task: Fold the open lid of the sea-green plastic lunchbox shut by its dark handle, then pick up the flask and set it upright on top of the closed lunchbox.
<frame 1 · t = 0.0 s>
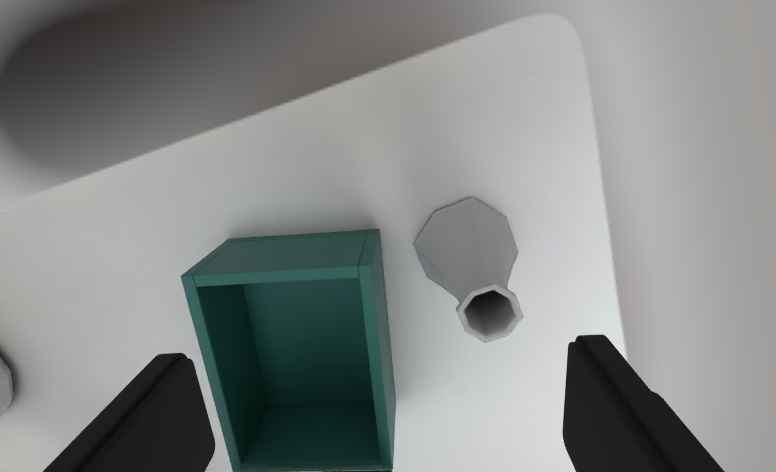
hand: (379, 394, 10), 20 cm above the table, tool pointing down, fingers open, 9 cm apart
flask: (464, 245, 30), on the table
lunchbox: (317, 325, 33), on the table
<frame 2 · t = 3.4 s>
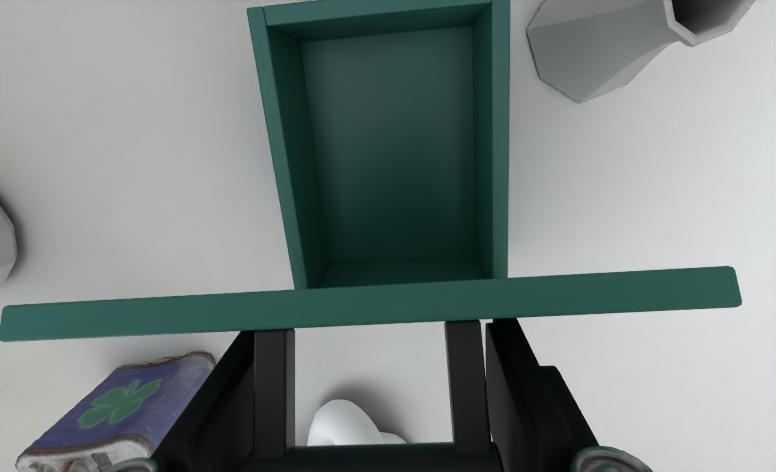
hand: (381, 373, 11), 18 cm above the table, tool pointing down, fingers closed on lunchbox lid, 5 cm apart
flask: (589, 35, 24), on the table
white decorative knot: (356, 433, 34), on the table
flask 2: (166, 370, 33), on the table
lunchbox: (394, 154, 27), on the table
lunchbox lid: (391, 372, 14), point 15 cm above the table, hinge at 59.8°, touching gripper
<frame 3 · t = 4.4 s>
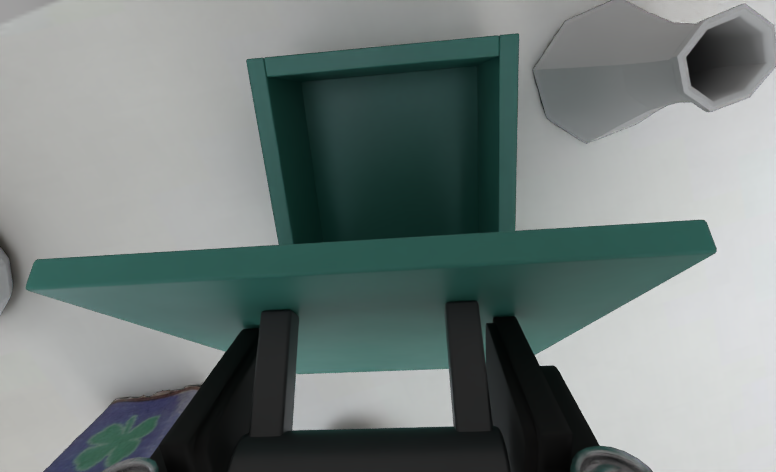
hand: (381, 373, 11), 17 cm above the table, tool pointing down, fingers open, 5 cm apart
flask: (597, 75, 23), on the table
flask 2: (164, 403, 33), on the table
lunchbox: (397, 192, 26), on the table
lunchbox lid: (392, 399, 14), point 15 cm above the table, hinge at 47.5°, touching gripper
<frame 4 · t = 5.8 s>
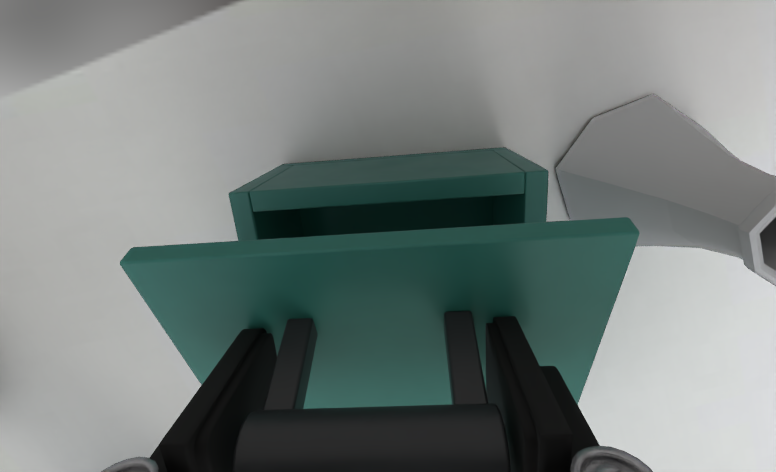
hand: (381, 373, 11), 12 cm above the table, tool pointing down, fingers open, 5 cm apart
flask: (627, 172, 21), on the table
lunchbox: (402, 291, 24), on the table
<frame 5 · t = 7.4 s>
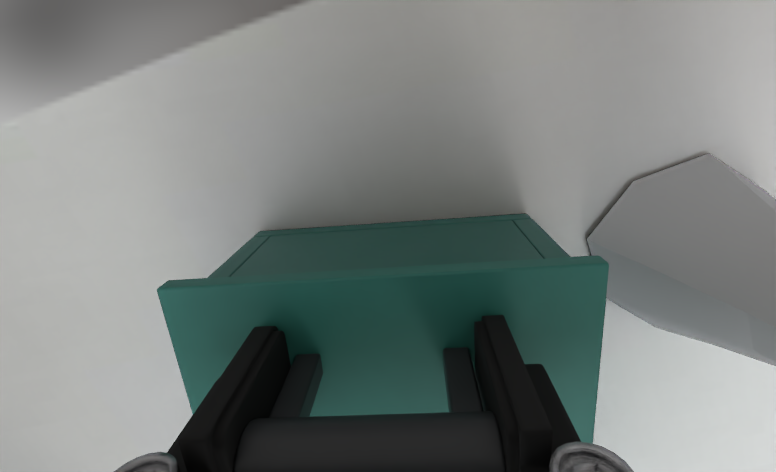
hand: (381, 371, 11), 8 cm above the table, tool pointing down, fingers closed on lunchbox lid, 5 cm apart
flask: (672, 242, 17), on the table
lunchbox: (402, 373, 20), on the table
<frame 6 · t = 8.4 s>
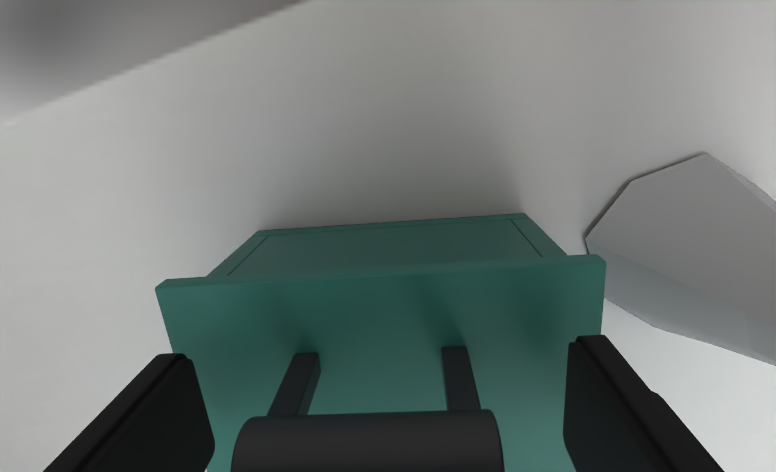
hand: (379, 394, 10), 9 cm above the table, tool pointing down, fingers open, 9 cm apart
flask: (670, 242, 17), on the table
lunchbox: (401, 373, 20), on the table
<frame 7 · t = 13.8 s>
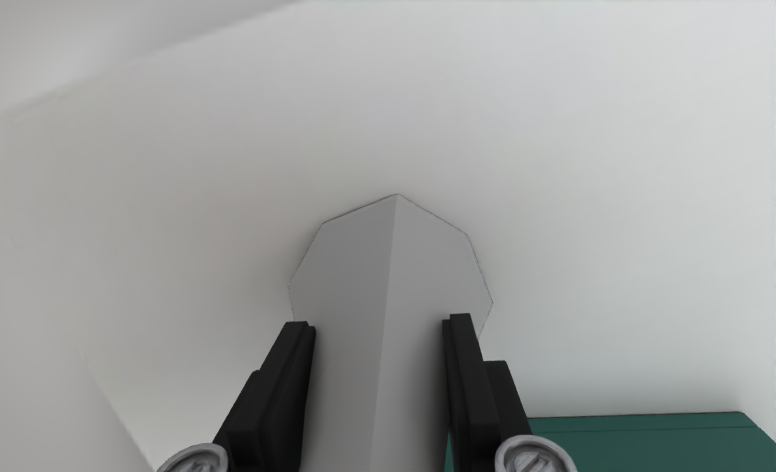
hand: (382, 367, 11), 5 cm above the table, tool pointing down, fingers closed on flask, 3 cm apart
flask: (390, 288, 16), on the table, touching gripper
when the fingers open (12 cm above the table, at t = 19.7 s): flask stays where it is, resting on lunchbox lid.
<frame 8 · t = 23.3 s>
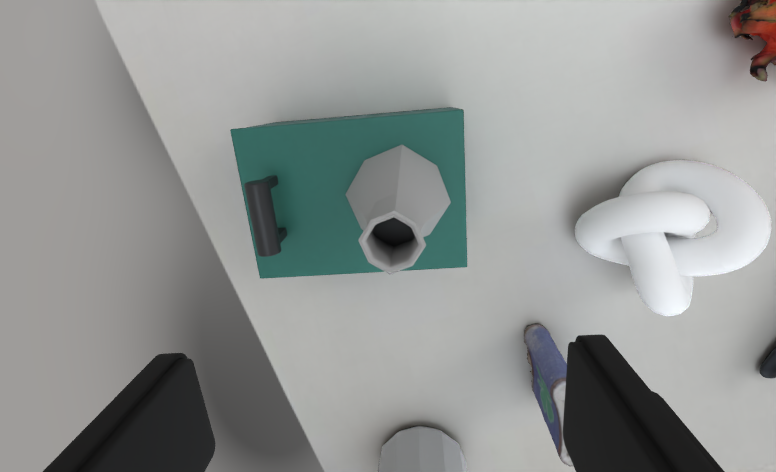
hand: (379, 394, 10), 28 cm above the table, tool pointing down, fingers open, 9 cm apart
flask: (398, 196, 30), point 7 cm above the table, touching lunchbox lid
jar: (421, 452, 47), on the table
white decorative knot: (624, 216, 37), on the table
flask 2: (540, 359, 42), on the table
lunchbox: (368, 181, 37), on the table
lunchbox lid: (350, 207, 28), point 9 cm above the table, hinge at -0.2°, touching lunchbox, flask
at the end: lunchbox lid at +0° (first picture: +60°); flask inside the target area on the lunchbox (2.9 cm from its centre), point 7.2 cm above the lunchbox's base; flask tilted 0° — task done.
